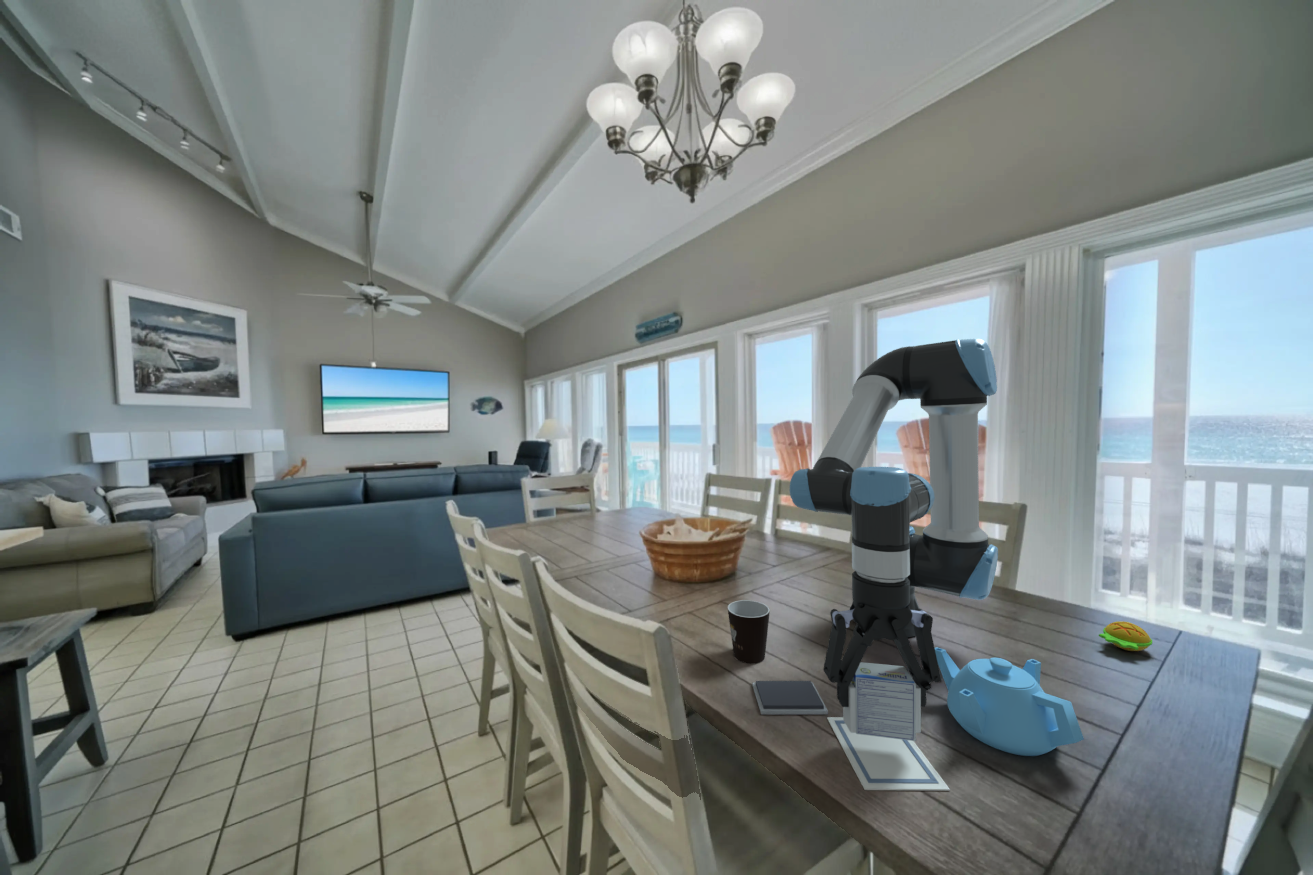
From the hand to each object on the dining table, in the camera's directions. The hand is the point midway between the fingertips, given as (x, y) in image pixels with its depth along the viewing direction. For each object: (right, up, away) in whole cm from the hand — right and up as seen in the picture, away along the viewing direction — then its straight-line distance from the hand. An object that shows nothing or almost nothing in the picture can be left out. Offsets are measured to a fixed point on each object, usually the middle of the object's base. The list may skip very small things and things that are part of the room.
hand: (881, 726), depth 64 cm
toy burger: (+64, -2, +26) cm, 69 cm away
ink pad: (-10, -4, +13) cm, 16 cm away
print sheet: (0, -4, 0) cm, 4 cm away
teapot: (+21, -3, +4) cm, 22 cm away
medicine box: (0, 0, 0) cm, 0 cm away
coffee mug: (-13, -3, +29) cm, 32 cm away
